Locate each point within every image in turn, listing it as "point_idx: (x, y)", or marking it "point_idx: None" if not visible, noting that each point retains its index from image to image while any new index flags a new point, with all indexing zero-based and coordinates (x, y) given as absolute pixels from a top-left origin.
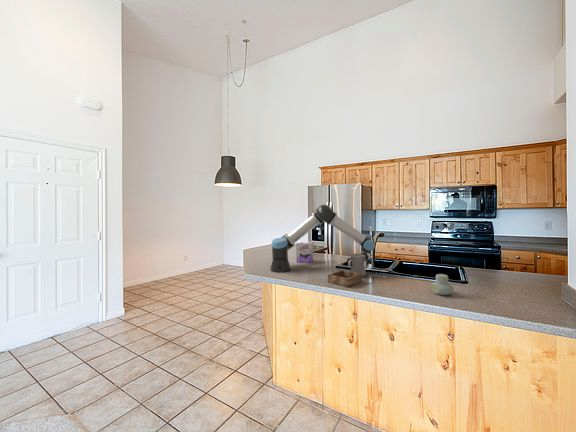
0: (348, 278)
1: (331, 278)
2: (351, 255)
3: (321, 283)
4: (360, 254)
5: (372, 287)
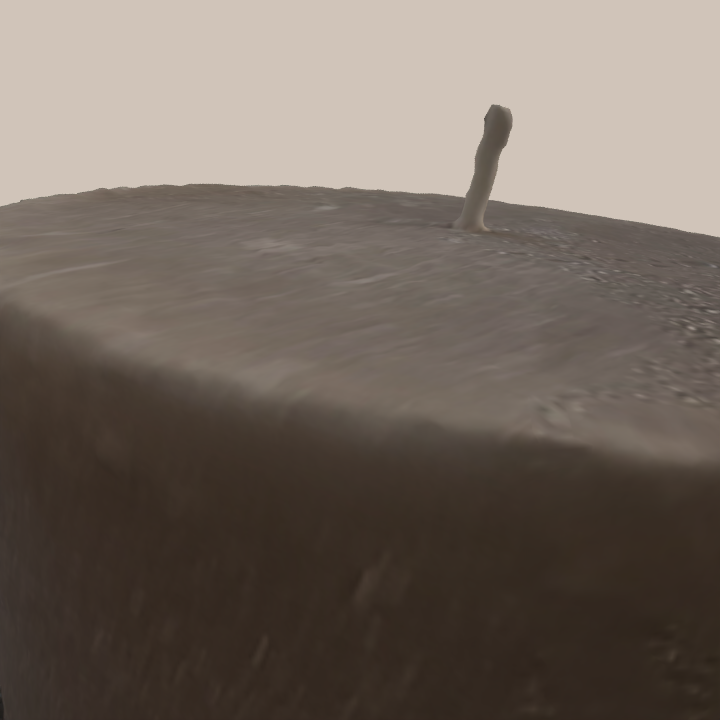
0: None
1: None
2: (693, 233)
3: None
4: (386, 276)
5: None
